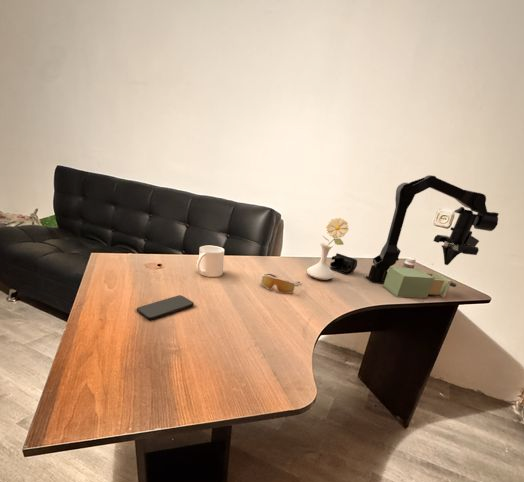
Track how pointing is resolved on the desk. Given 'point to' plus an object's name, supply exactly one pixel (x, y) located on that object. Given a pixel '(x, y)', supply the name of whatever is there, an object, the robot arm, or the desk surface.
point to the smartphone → (164, 307)
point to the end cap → (343, 264)
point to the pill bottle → (409, 263)
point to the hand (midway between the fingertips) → (446, 264)
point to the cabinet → (408, 282)
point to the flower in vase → (335, 230)
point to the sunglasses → (278, 284)
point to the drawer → (440, 284)
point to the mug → (210, 261)
